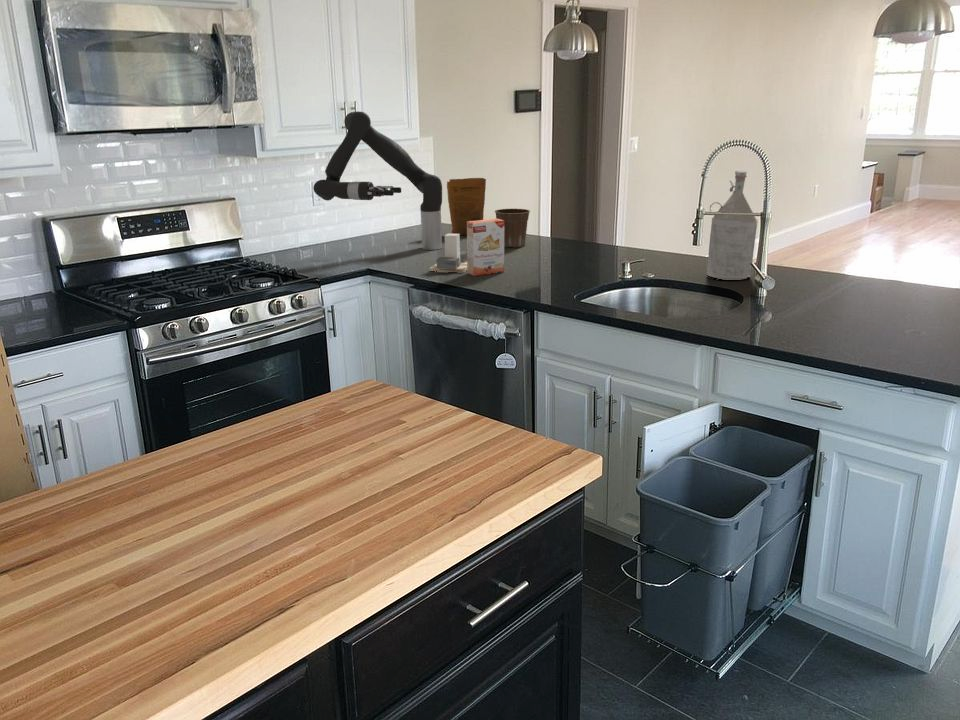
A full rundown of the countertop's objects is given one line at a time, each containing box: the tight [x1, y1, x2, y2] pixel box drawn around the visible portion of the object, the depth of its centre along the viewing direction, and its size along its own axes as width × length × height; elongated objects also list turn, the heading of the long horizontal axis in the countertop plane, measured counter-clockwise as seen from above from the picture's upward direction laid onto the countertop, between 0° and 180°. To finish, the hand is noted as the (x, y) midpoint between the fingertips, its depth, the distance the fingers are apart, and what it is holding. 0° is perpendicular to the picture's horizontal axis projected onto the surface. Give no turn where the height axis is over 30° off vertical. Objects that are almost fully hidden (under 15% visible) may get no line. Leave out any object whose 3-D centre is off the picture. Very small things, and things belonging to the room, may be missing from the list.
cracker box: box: [466, 218, 505, 277], centre depth 305 cm, size 14×6×21 cm, turn 118°
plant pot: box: [494, 208, 531, 249], centre depth 358 cm, size 16×16×16 cm
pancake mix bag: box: [446, 177, 487, 236], centre depth 384 cm, size 7×19×28 cm, turn 85°
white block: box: [444, 233, 461, 261], centre depth 317 cm, size 4×5×12 cm
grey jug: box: [706, 169, 758, 278], centre depth 288 cm, size 13×17×40 cm
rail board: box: [429, 250, 467, 274], centre depth 318 cm, size 18×14×5 cm
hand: (397, 191), depth 318 cm, fingers open, 8 cm apart
